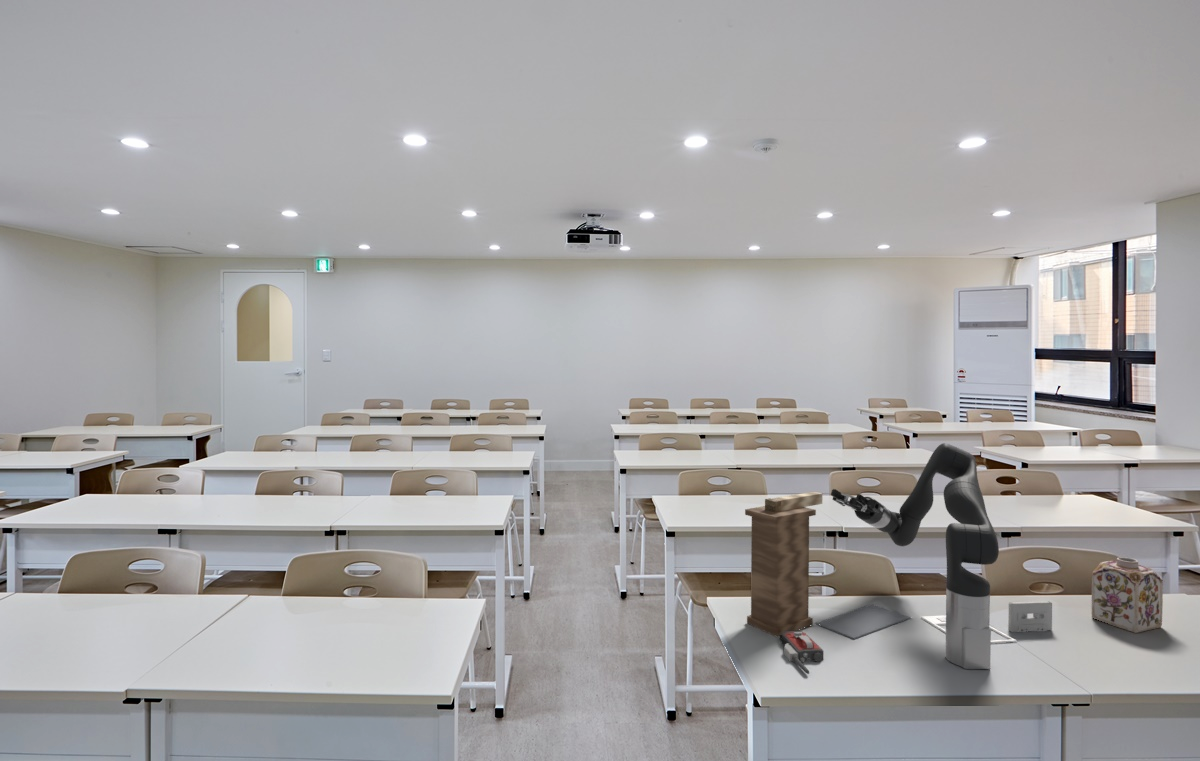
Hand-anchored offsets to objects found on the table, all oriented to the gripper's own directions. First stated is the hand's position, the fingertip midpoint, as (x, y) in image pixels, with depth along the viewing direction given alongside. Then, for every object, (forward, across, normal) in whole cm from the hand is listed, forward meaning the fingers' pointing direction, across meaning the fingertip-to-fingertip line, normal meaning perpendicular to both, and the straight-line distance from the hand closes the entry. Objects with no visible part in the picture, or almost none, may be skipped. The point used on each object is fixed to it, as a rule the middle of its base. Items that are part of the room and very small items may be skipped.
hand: (845, 494), depth 194 cm
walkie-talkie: (+20, +17, +48) cm, 54 cm away
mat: (-9, +12, +32) cm, 36 cm away
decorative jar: (-62, +54, +5) cm, 82 cm away
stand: (+10, 0, +42) cm, 44 cm away
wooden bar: (+20, 0, +11) cm, 22 cm away
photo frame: (-25, +31, +25) cm, 47 cm away
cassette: (-37, +41, +18) cm, 58 cm away
